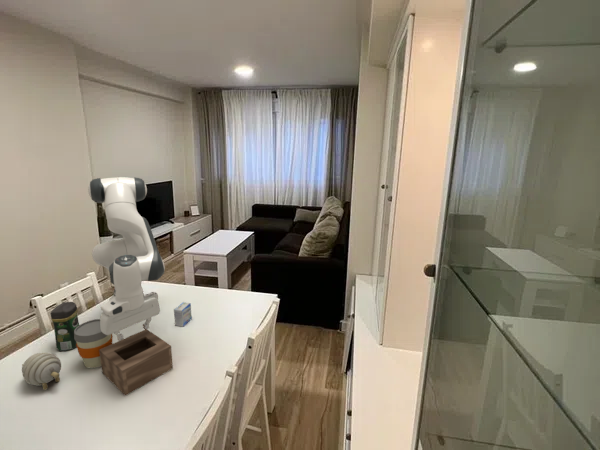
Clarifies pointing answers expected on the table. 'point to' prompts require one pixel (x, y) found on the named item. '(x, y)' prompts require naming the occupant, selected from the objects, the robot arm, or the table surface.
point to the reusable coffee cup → (91, 342)
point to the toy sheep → (41, 369)
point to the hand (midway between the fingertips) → (133, 333)
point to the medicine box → (182, 314)
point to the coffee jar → (65, 325)
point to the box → (136, 360)
